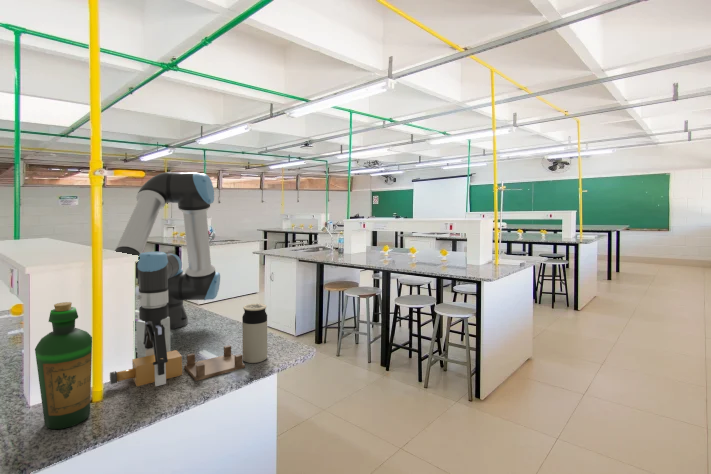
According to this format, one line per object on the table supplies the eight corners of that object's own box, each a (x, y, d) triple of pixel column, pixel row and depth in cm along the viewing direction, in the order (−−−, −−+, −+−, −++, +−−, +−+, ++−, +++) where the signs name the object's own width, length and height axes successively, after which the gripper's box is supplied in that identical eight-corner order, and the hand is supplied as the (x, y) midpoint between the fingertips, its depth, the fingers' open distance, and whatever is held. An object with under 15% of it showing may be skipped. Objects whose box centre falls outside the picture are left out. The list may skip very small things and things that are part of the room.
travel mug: (258, 365, 120) (258, 310, 119) (237, 361, 123) (237, 307, 122) (271, 356, 128) (271, 304, 126) (252, 352, 130) (252, 302, 129)
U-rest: (195, 381, 109) (195, 367, 108) (184, 367, 117) (184, 354, 117) (244, 367, 118) (244, 354, 118) (231, 356, 127) (231, 344, 127)
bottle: (65, 436, 82) (59, 312, 80) (26, 430, 84) (19, 308, 82) (106, 411, 92) (102, 299, 90) (71, 405, 95) (66, 297, 92)
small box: (157, 350, 131) (156, 314, 130) (171, 353, 128) (170, 316, 127) (136, 359, 123) (135, 320, 122) (150, 362, 121) (149, 323, 120)
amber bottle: (176, 368, 117) (176, 349, 117) (182, 375, 113) (181, 356, 112) (109, 384, 106) (108, 364, 106) (112, 393, 101) (111, 371, 101)
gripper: (131, 298, 116) (133, 365, 118) (148, 317, 97) (150, 396, 99) (158, 295, 121) (159, 360, 122) (179, 312, 102) (180, 388, 104)
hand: (155, 376), depth 111 cm, fingers open, 12 cm apart
